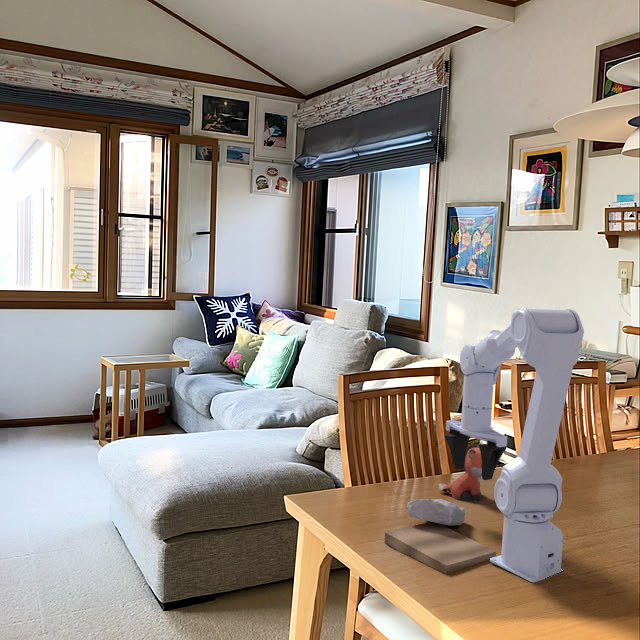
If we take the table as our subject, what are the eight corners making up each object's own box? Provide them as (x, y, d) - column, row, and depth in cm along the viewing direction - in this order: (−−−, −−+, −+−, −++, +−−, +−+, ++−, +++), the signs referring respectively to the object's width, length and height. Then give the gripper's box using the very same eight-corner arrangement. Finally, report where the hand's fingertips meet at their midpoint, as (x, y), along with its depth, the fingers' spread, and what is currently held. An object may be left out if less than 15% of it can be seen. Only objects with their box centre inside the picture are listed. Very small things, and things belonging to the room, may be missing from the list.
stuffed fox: (440, 488, 164) (443, 437, 163) (489, 495, 160) (493, 443, 159) (433, 498, 157) (436, 444, 156) (485, 506, 153) (488, 451, 152)
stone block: (402, 524, 135) (454, 525, 131) (402, 498, 136) (454, 498, 132) (418, 526, 145) (467, 527, 141) (418, 502, 147) (466, 502, 143)
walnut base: (495, 562, 125) (496, 551, 125) (445, 577, 118) (446, 565, 118) (432, 531, 138) (433, 521, 138) (384, 542, 131) (385, 532, 131)
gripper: (519, 412, 136) (515, 481, 138) (464, 397, 148) (460, 461, 149) (494, 415, 132) (489, 486, 134) (440, 400, 144) (436, 465, 145)
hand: (472, 473), depth 141 cm, fingers open, 7 cm apart
